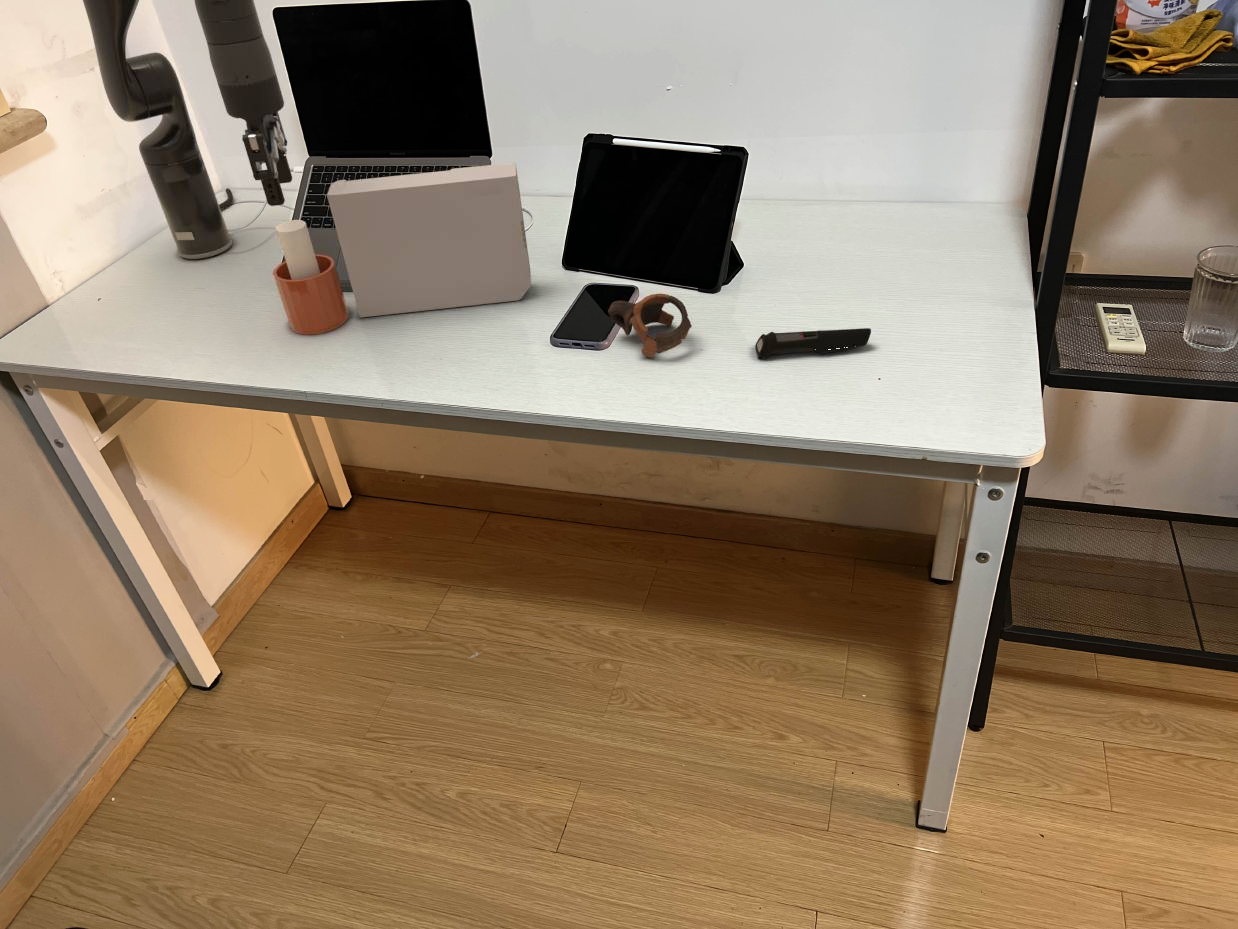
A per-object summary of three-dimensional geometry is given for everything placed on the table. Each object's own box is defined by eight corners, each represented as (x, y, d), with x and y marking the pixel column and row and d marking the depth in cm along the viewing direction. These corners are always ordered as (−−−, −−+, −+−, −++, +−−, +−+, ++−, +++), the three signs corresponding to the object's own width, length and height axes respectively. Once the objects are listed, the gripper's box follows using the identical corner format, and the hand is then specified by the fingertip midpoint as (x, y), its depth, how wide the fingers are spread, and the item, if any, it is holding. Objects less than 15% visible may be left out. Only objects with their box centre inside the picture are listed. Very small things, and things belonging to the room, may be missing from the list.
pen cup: (294, 310, 147) (277, 258, 142) (350, 303, 148) (336, 251, 143) (286, 338, 140) (269, 284, 135) (346, 330, 141) (331, 276, 136)
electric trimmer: (871, 355, 126) (874, 334, 124) (758, 361, 126) (759, 341, 124) (865, 341, 129) (868, 321, 127) (754, 347, 129) (755, 327, 127)
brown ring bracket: (691, 325, 136) (700, 295, 128) (676, 380, 132) (684, 352, 125) (613, 304, 136) (617, 272, 129) (596, 357, 133) (599, 328, 125)
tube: (324, 324, 142) (297, 232, 133) (299, 323, 143) (270, 231, 133) (336, 310, 145) (310, 220, 136) (312, 309, 146) (284, 219, 137)
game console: (363, 301, 148) (331, 180, 136) (532, 282, 149) (515, 161, 137) (359, 318, 144) (326, 195, 132) (533, 299, 145) (516, 175, 133)
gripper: (267, 86, 116) (302, 209, 126) (282, 57, 127) (313, 172, 137) (206, 93, 116) (246, 216, 126) (226, 62, 127) (262, 177, 137)
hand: (281, 192), depth 132 cm, fingers open, 8 cm apart
